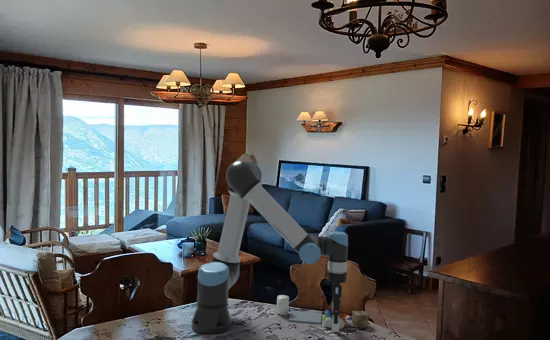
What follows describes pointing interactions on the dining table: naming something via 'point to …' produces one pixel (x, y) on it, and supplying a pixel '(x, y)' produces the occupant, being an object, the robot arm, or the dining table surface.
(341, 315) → the rainbow wheeled toy
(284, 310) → the white glossy rounded part
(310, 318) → the felt mat
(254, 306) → the dining table surface
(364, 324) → the walnut block
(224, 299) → the robot arm
